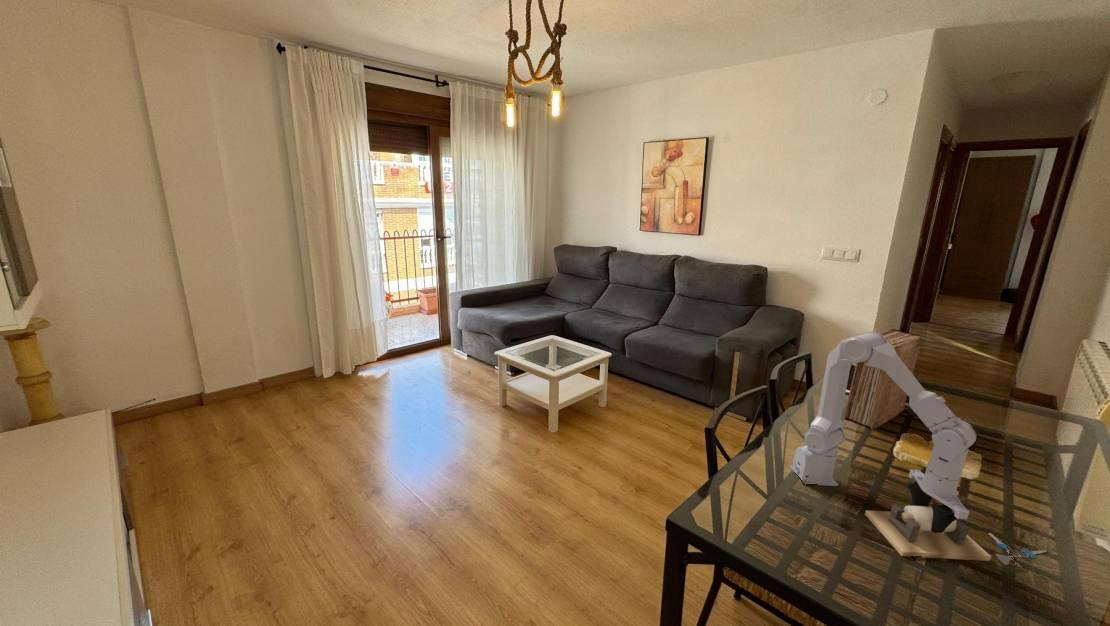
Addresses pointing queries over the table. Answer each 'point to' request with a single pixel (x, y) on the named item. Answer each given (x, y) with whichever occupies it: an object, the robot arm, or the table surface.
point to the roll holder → (925, 538)
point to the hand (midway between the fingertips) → (927, 522)
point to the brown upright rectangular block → (881, 384)
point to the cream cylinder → (923, 517)
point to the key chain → (1006, 559)
